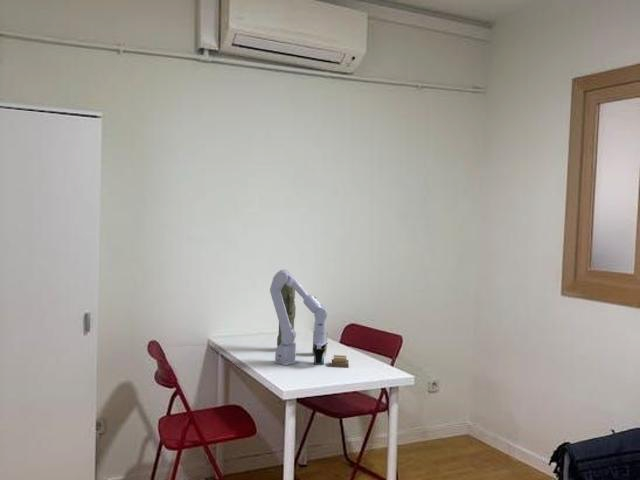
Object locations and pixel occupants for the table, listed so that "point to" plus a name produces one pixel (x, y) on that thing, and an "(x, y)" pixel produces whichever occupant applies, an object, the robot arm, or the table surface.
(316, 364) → the teal cylinder
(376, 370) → the table surface
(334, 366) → the walnut slab
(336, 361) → the oak block
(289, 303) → the thermos
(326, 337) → the skincare box
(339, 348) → the table surface
